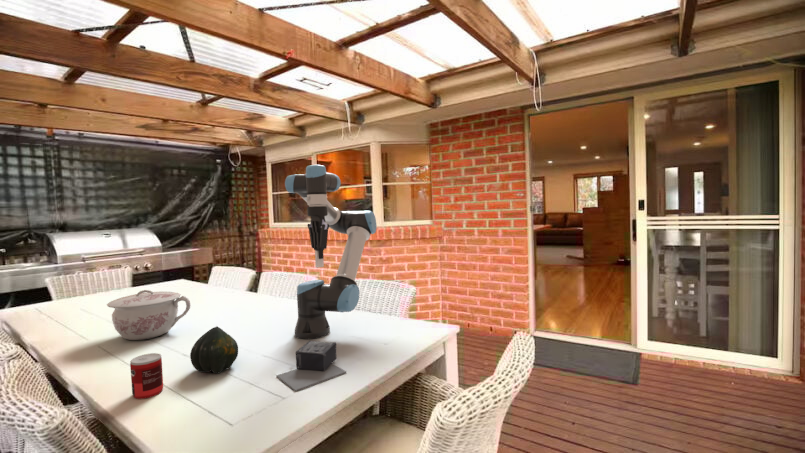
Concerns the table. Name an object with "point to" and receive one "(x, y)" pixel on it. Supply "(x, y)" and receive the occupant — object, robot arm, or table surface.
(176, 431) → the table surface
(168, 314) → the chamber pot
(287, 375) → the mat
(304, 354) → the small box
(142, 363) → the canned food
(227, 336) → the squash
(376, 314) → the table surface
